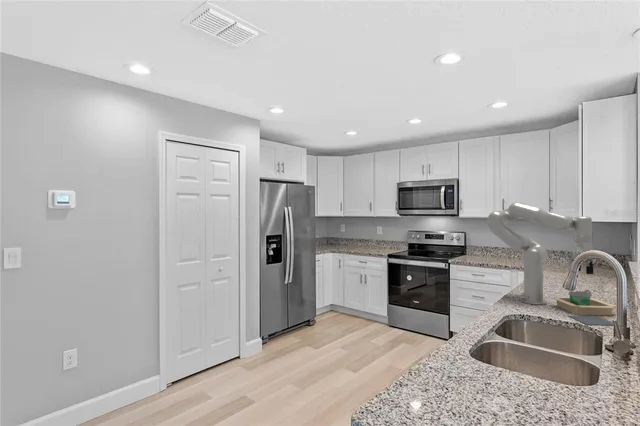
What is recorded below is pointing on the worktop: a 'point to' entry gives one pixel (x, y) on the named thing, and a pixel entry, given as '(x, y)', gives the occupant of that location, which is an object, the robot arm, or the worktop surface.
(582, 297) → the food container
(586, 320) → the mat
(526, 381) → the worktop surface
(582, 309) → the tan square tray
